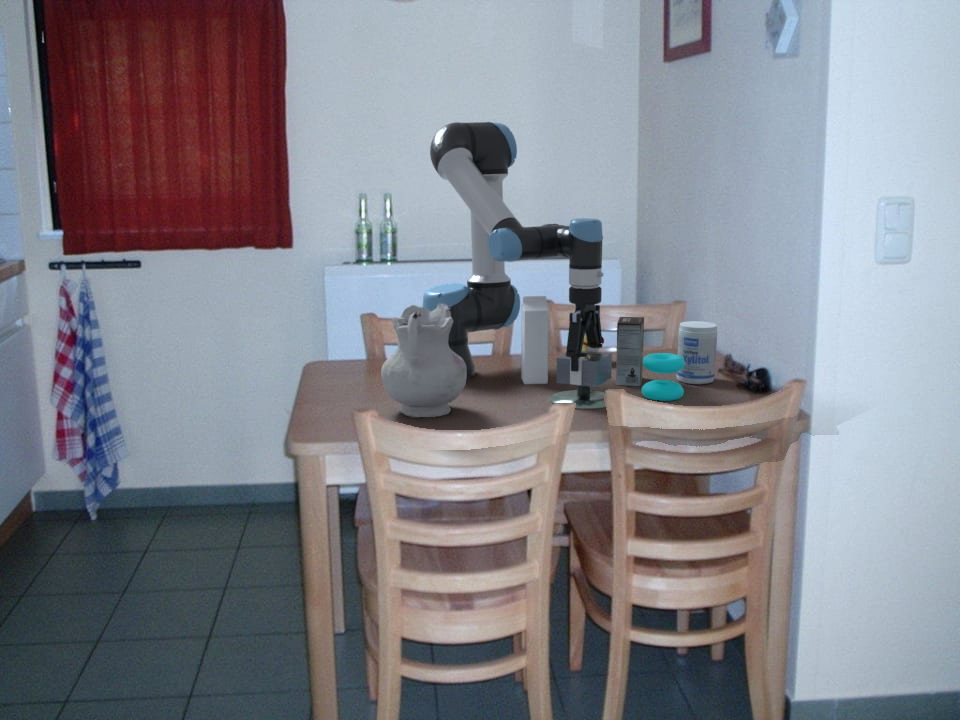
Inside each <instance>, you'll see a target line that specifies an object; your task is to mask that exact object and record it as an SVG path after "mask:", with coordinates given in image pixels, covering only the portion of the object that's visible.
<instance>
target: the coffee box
mask: <svg viewBox="0 0 960 720" xmlns="http://www.w3.org/2000/svg"><path fill="white" fill-rule="evenodd" d="M644 326H645V317H644V316H619V318H618V321H617V325H616V364H615V365H616V368H615V369H616V370H615V371H616V372H615V385H616V386H626V387H627V386H628V387H630V386H631V387H632V386H634V387H641V385H642V381H643V369H644V368H643V367H644V366H643V363H642V361H643V358H644V339H645V337H644V335H645V334H644V333H645V331H644V328H645V327H644Z"/></svg>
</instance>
